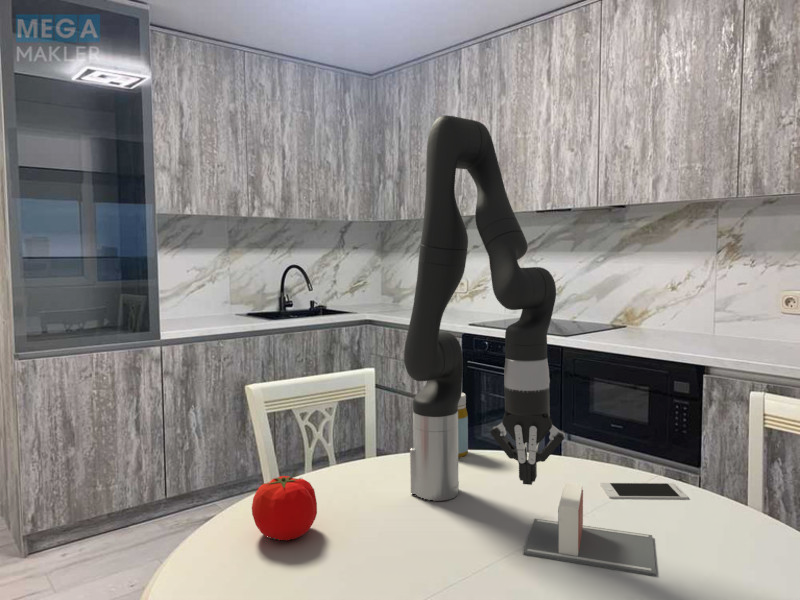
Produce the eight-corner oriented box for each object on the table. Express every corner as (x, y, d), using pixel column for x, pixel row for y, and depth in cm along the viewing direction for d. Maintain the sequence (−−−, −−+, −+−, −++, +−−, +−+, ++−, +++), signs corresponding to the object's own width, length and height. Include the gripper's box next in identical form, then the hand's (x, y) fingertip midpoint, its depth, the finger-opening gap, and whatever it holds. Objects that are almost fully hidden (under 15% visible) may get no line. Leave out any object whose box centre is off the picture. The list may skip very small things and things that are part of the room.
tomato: (329, 539, 103) (327, 481, 103) (265, 557, 98) (263, 496, 97) (303, 514, 114) (301, 461, 113) (244, 529, 108) (242, 474, 107)
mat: (523, 554, 97) (523, 551, 97) (534, 520, 109) (534, 518, 109) (655, 576, 90) (655, 572, 90) (652, 537, 102) (652, 534, 102)
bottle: (470, 450, 148) (470, 391, 147) (464, 460, 142) (463, 398, 141) (443, 448, 151) (442, 390, 149) (436, 457, 144) (435, 396, 143)
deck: (557, 553, 97) (557, 505, 96) (563, 526, 106) (563, 482, 105) (578, 556, 95) (579, 508, 95) (582, 529, 105) (583, 485, 104)
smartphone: (599, 486, 126) (599, 482, 126) (674, 487, 125) (674, 482, 125) (609, 500, 119) (609, 496, 118) (688, 501, 118) (688, 496, 117)
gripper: (483, 386, 100) (485, 486, 101) (564, 390, 95) (565, 495, 97) (492, 378, 107) (494, 471, 108) (568, 381, 102) (569, 479, 104)
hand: (528, 482), depth 102 cm, fingers closed
